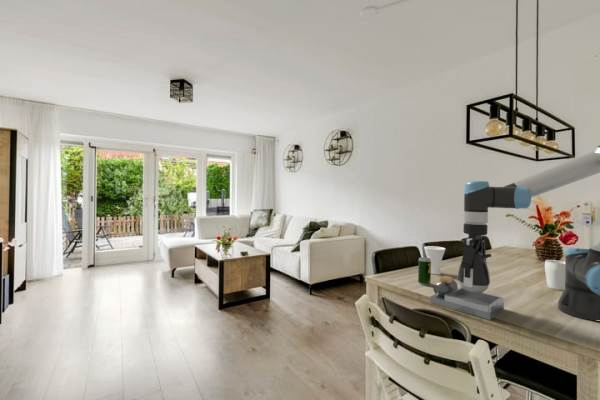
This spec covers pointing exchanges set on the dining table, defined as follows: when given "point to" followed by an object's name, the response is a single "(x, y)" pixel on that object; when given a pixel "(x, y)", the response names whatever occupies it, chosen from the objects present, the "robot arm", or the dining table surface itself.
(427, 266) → the green soda can
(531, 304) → the dining table surface
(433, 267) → the cup
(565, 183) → the robot arm
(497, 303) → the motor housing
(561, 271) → the cup
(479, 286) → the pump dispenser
